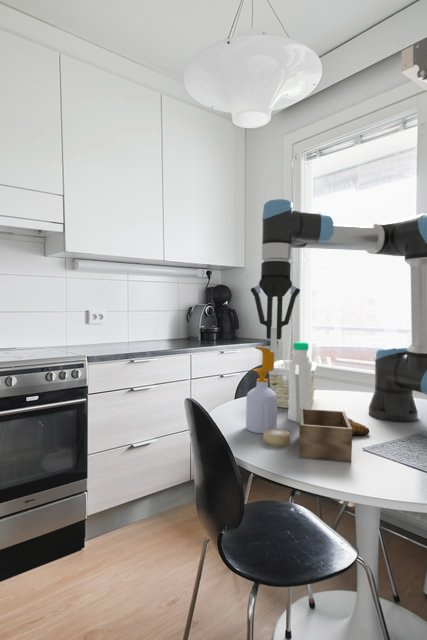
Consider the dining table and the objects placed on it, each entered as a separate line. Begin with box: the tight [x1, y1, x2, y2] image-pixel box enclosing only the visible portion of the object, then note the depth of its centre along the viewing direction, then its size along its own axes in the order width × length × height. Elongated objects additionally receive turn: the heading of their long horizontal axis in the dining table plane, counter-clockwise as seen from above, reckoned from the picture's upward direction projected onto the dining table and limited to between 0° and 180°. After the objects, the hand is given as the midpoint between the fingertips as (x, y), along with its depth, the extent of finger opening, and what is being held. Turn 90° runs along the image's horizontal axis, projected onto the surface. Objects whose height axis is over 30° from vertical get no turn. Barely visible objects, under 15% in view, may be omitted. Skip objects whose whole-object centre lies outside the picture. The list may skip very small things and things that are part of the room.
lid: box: [295, 365, 301, 427], centre depth 105 cm, size 12×16×1 cm
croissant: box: [347, 417, 370, 436], centre depth 116 cm, size 14×7×5 cm, turn 81°
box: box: [298, 408, 353, 463], centre depth 104 cm, size 12×16×8 cm
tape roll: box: [262, 428, 291, 448], centre depth 108 cm, size 7×7×2 cm
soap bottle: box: [245, 346, 278, 435], centre depth 119 cm, size 9×9×25 cm
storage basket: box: [268, 359, 318, 409], centre depth 153 cm, size 24×16×15 cm
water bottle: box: [287, 341, 312, 423], centre depth 129 cm, size 7×7×25 cm
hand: (273, 351), depth 105 cm, fingers closed
